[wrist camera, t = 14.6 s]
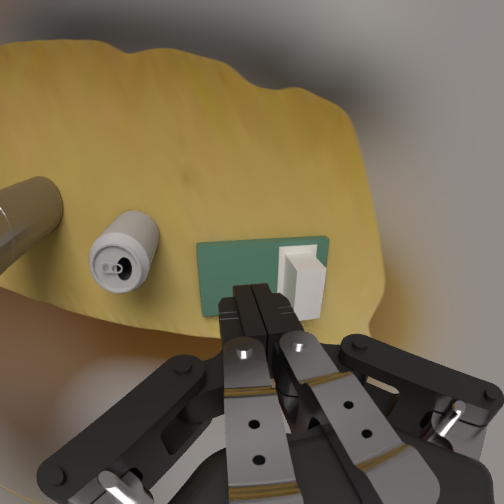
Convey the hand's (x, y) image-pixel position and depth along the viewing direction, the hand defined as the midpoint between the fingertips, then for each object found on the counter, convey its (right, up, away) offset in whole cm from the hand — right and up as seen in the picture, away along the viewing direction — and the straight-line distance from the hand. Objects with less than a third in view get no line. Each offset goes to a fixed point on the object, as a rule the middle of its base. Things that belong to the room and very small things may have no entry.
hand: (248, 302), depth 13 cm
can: (-17, +5, +27) cm, 32 cm away
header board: (+2, -1, +33) cm, 33 cm away
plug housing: (+7, -2, +32) cm, 33 cm away
